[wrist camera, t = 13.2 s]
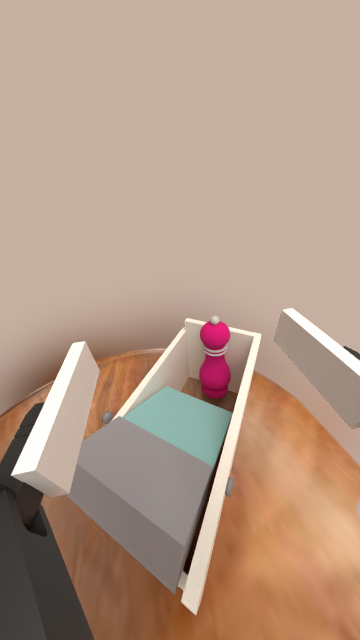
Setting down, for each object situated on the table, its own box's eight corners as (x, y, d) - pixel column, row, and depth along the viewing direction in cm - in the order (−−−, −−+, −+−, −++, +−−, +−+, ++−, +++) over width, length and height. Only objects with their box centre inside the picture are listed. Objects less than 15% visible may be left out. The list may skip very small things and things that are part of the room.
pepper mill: (207, 372, 50) (205, 305, 40) (234, 382, 46) (239, 311, 36) (194, 393, 45) (189, 321, 35) (223, 406, 41) (226, 330, 31)
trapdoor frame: (102, 515, 32) (44, 476, 21) (185, 371, 56) (180, 316, 45) (205, 606, 25) (203, 622, 13) (250, 394, 48) (264, 334, 37)
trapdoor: (60, 490, 20) (64, 453, 20) (163, 402, 40) (166, 383, 40) (174, 594, 14) (184, 546, 14) (228, 431, 34) (233, 409, 34)
